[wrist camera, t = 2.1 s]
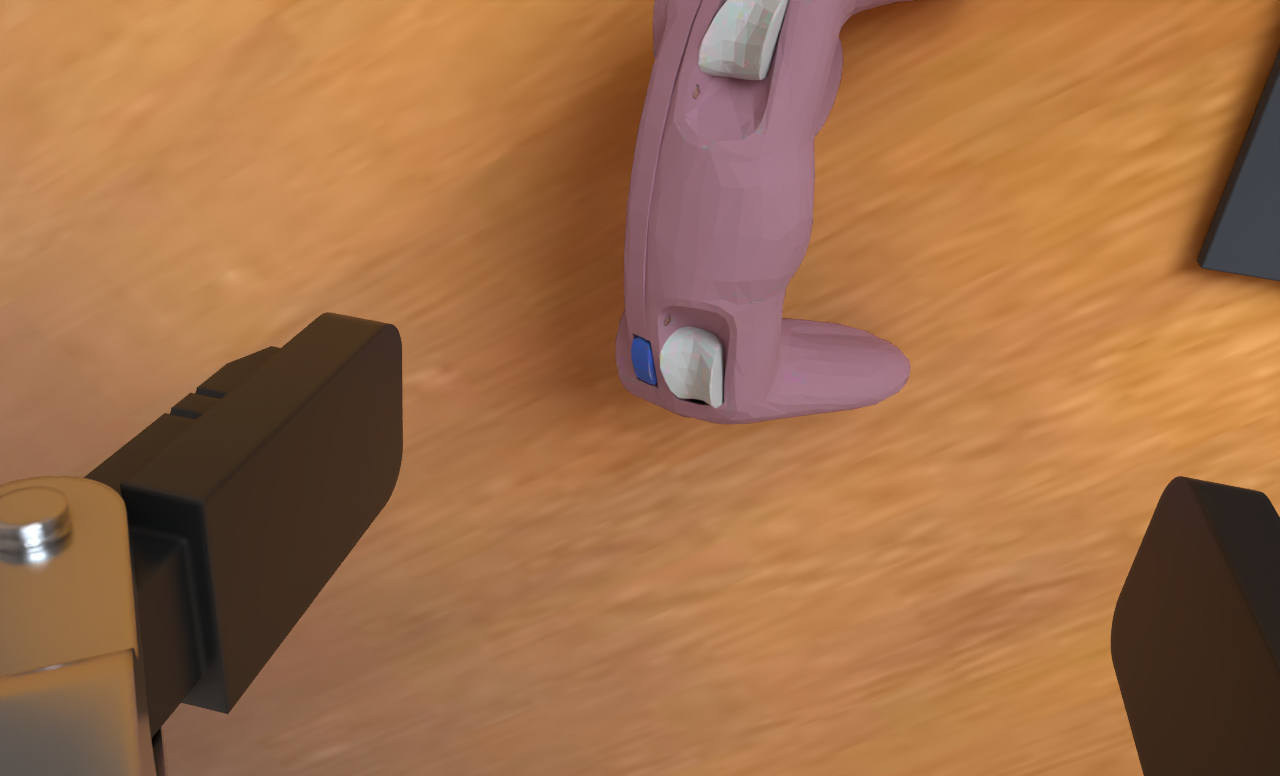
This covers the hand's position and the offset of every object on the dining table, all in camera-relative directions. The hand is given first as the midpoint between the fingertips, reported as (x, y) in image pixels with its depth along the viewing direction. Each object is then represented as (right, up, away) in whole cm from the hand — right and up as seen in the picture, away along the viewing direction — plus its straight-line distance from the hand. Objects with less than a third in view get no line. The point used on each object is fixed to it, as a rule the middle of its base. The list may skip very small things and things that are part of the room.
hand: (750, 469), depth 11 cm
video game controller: (+2, +6, +11) cm, 13 cm away
